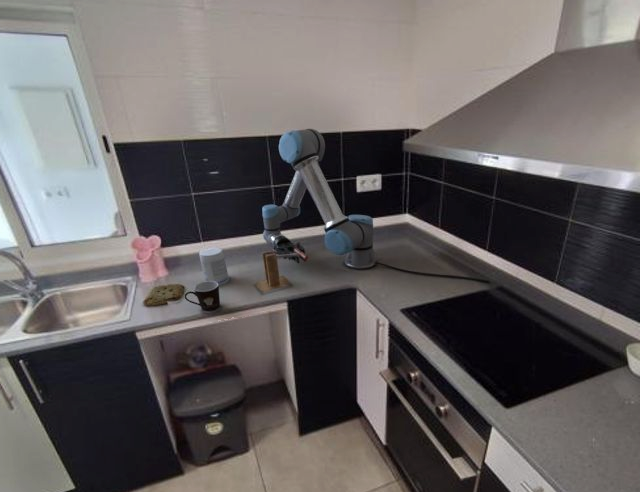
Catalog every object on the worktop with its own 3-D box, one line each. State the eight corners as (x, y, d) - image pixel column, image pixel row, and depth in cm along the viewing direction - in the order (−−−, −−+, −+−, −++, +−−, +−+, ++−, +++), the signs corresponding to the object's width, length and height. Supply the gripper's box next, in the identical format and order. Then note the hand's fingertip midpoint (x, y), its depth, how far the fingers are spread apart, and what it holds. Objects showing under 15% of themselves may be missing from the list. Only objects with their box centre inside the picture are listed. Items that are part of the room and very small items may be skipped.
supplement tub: (231, 277, 169) (225, 246, 162) (226, 287, 161) (219, 255, 154) (209, 278, 169) (203, 247, 162) (203, 288, 161) (195, 255, 154)
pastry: (172, 283, 165) (170, 277, 163) (197, 294, 156) (195, 287, 154) (133, 299, 152) (130, 293, 151) (157, 312, 143) (155, 305, 142)
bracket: (283, 278, 169) (279, 246, 162) (292, 286, 161) (288, 254, 154) (254, 285, 163) (249, 252, 156) (262, 294, 155) (257, 260, 148)
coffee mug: (226, 304, 148) (222, 281, 143) (217, 315, 141) (212, 292, 136) (198, 303, 149) (192, 280, 144) (187, 314, 142) (181, 290, 137)
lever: (297, 252, 168) (297, 247, 167) (308, 260, 160) (308, 255, 159) (261, 256, 160) (261, 251, 159) (271, 265, 151) (271, 259, 150)
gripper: (297, 247, 185) (318, 263, 168) (266, 254, 178) (285, 271, 160) (295, 232, 182) (317, 247, 164) (264, 238, 174) (283, 255, 157)
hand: (301, 259), depth 162 cm, fingers open, 3 cm apart
